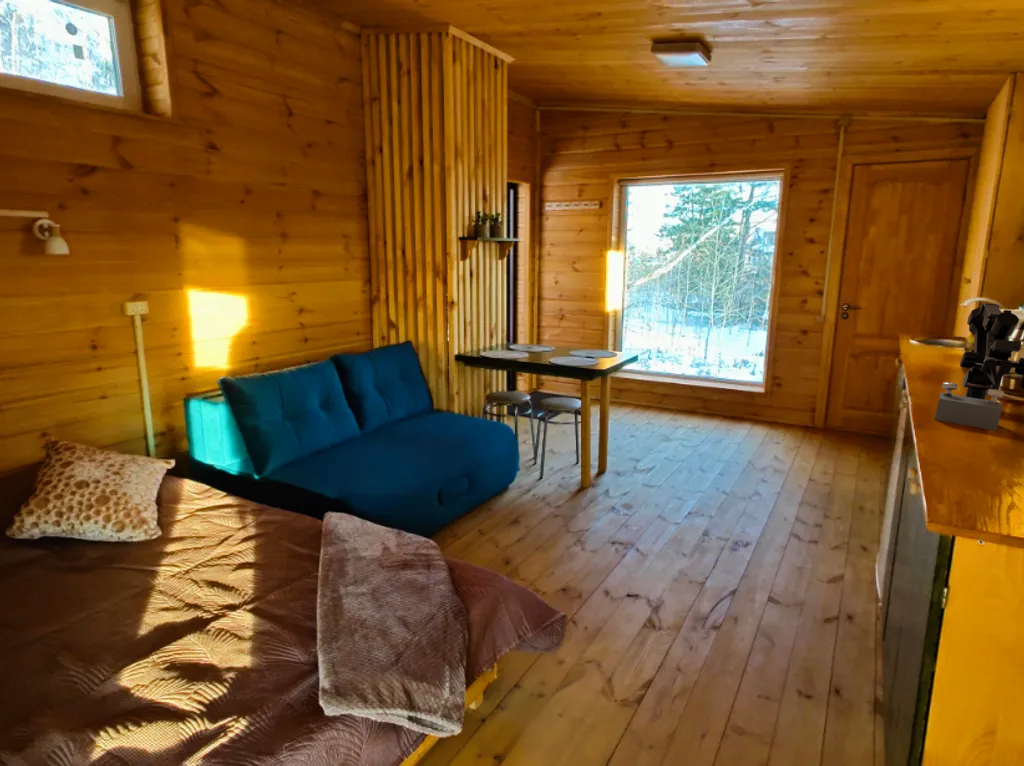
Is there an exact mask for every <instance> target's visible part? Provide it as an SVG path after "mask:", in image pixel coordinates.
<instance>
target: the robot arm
mask: <svg viewBox="0 0 1024 766" xmlns="http://www.w3.org/2000/svg"><path fill="white" fill-rule="evenodd" d="M1019 321H1020V319H1019V317H1018V316H1017V315H1016V314H1014V313H1012V310H1010V309H1004V310H1001V309H1000V306H999V304H997V303H987V302H984V303H981V304H980V306H979V307H977V308H974V309H972V310H971V311H970V314H969V315H968V317H967V323H966V325H968V332H970V333H971V334H972V335H973V339H974V340H973V342H974V343H973V351H964V352H963V354H962V357H961V358H960V360H959V361H960V362H959V367H960V368H963V369H968V370H966V373H965V375H964V377H963V379H962V385H961V386H963V387H964V388H966V391H965V395H964V397H970V398H977V399H983V400H986V397H987V394H986V393H987V390H988V389H995V386H998V384H999V382H1000V380H1001V378H1002V379H1003V377H1004V376H1005V375H1006V376H1007V375H1009V374H1010V373H1011V370H1012V369H1014V373H1015V374H1016V375H1018V376H1024V357H1019V359H1018V360H1009V359H1011V357H1012V353H1013V352H1020V351H1021V348H1022V340H1016V339H1015V340H1010V339H1009V337H1010V336H1012V335H1013V333H1014V331H1015V330H1016V327H1018V324H1019ZM996 366H997V367H999V370H998V371H997V372H996ZM1001 381H1002V380H1001ZM976 384H977V385H976Z"/></svg>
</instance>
